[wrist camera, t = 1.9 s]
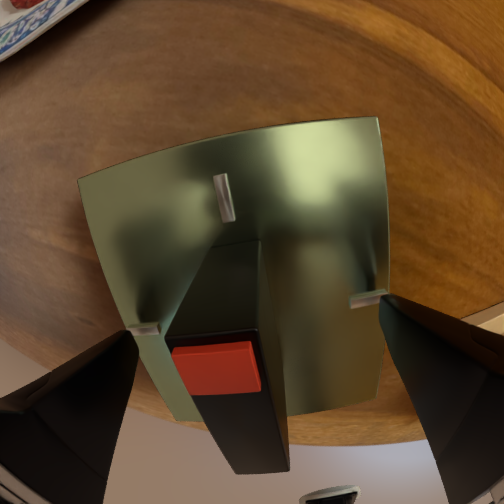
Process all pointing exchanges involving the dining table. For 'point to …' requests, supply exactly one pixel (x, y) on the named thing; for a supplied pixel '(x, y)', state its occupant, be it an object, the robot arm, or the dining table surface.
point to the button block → (489, 319)
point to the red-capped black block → (234, 358)
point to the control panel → (272, 242)
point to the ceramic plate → (29, 21)
